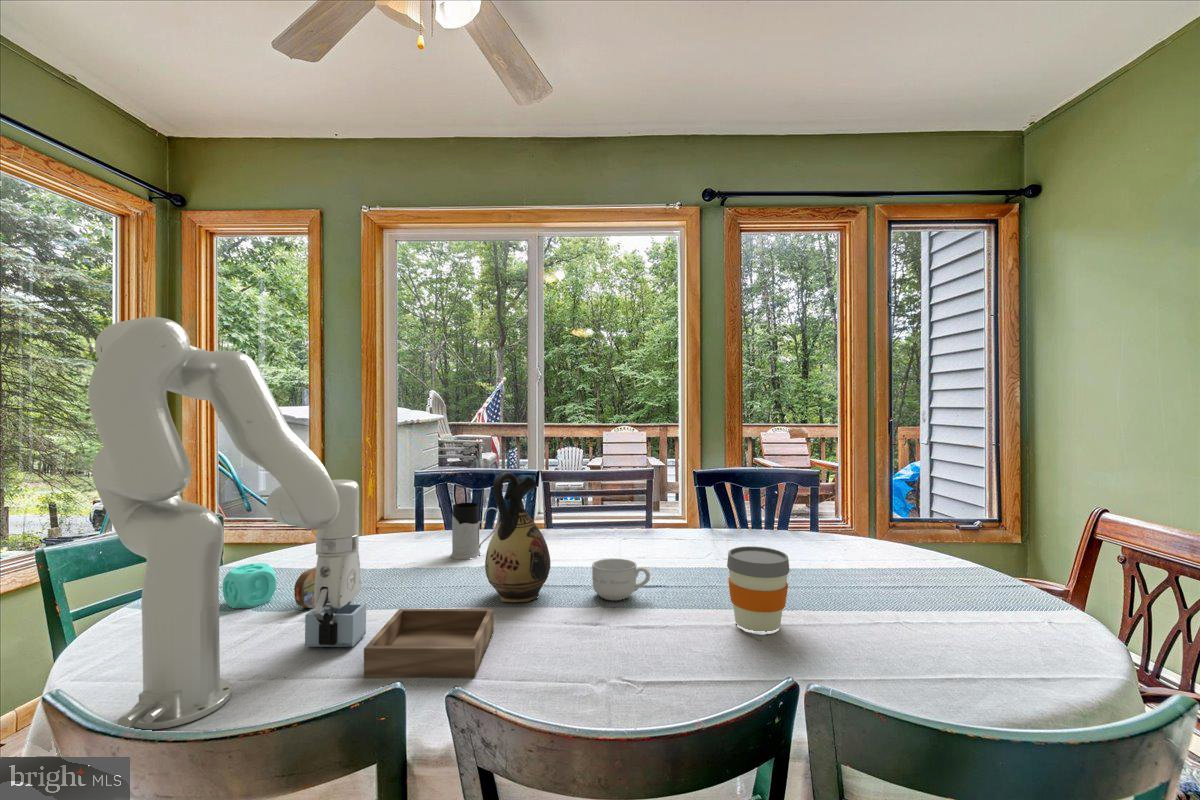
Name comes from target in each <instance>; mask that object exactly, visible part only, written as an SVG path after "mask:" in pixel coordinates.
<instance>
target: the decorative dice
mask: <svg viewBox="0 0 1200 800" xmlns="http://www.w3.org/2000/svg"><path fill="white" fill-rule="evenodd" d="M276 590H277V576H276V573H275V570H274V569H273V567H272V566H271V565H269V564H268V563H264V562H263V563H262V562H254V563H253V562H252V563H246V564H242V565H238V566H235V567H233V568H231V569H230V570H229V571H228V572H227V573H226V575H225V576H224V578H223V580H222V595H223V597H224V598H223V599H224V601H225V604H226V605H227V606H229V607H230V608H231V607H232V609H234V608H246V609H250V608H249V607H252V608H256V607H259V606H258V605H260V606H262V605H265V604H266V603H268V602H269V601H270V600H271V598H272V597H273V596H274V594H275V592H276ZM267 601H268V602H267ZM261 604H262V605H261ZM255 606H256V607H255Z"/></svg>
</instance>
